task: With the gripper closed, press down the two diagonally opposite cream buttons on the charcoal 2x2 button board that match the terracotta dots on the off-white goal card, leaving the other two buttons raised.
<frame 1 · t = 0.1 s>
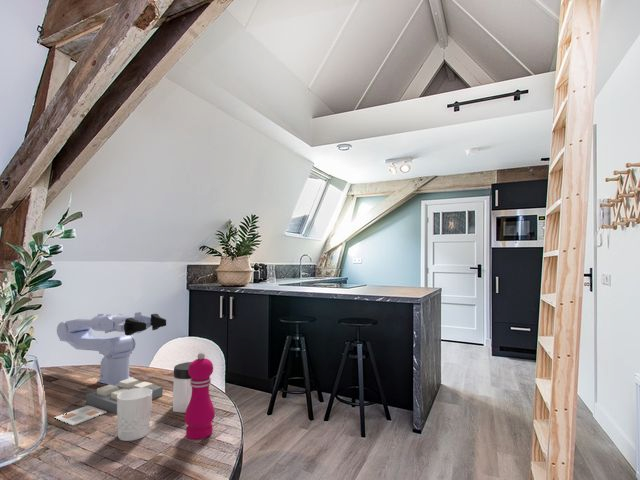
hand: (155, 324, 119), 22 cm above the table, tool horizontal, fingers open, 7 cm apart
button board: (125, 399, 111), on the table
button c: (121, 394, 106), point 3 cm above the table, slide at 0.0 cm
button a: (107, 390, 110), point 3 cm above the table, slide at 0.0 cm
white cup: (133, 435, 89), on the table
button d: (143, 387, 113), point 3 cm above the table, slide at 0.0 cm
goal card: (80, 415, 99), on the table
jar: (187, 407, 106), on the table
button b: (128, 383, 116), point 3 cm above the table, slide at 0.0 cm
pepper mill: (199, 434, 90), on the table
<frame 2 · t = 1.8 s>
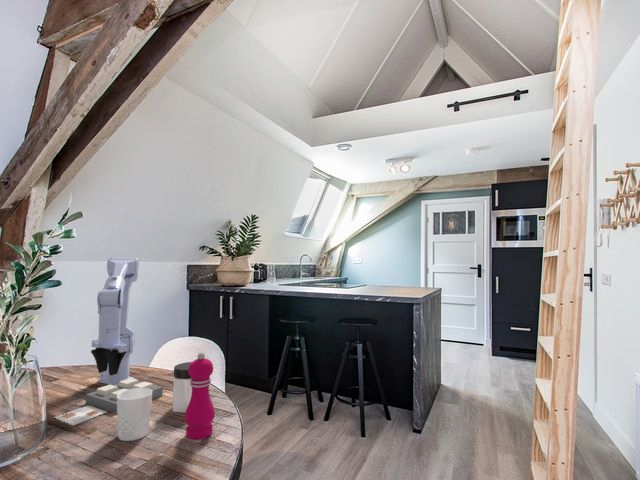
hand: (108, 373, 110), 8 cm above the table, tool pointing down, fingers open, 5 cm apart
nothing on the table moved.
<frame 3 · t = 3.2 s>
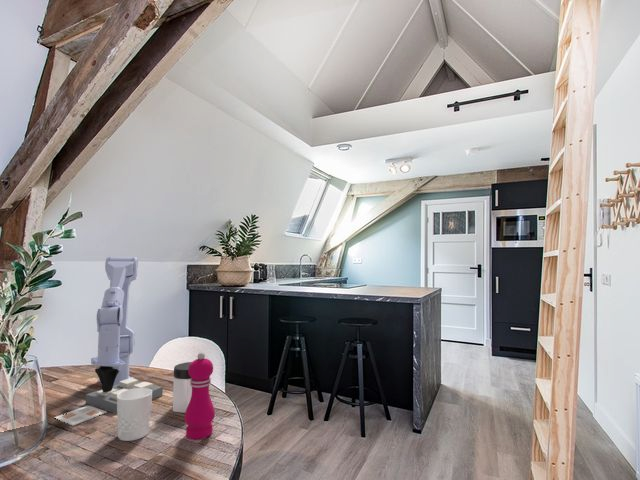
hand: (107, 391, 110), 3 cm above the table, tool pointing down, fingers closed, pressing on button a
button a: (107, 393, 110), point 2 cm above the table, slide at 0.9 cm, touching gripper
everything else where it was.
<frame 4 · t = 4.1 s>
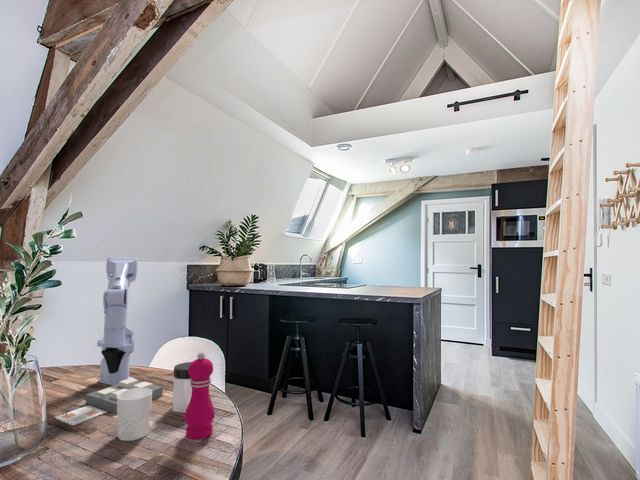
hand: (113, 372, 110), 8 cm above the table, tool pointing down, fingers closed
button a: (107, 393, 110), point 2 cm above the table, slide at 0.9 cm
everything else where it was.
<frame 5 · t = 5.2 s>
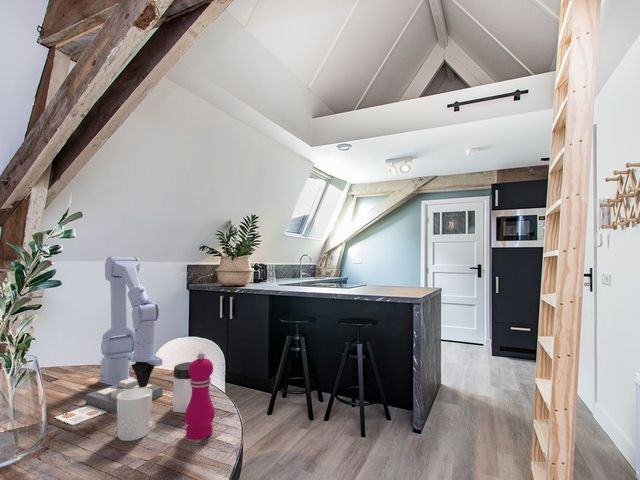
hand: (143, 386, 113), 3 cm above the table, tool pointing down, fingers closed, pressing on button d
button d: (143, 388, 113), point 3 cm above the table, slide at 0.5 cm, touching gripper
everything else where it was.
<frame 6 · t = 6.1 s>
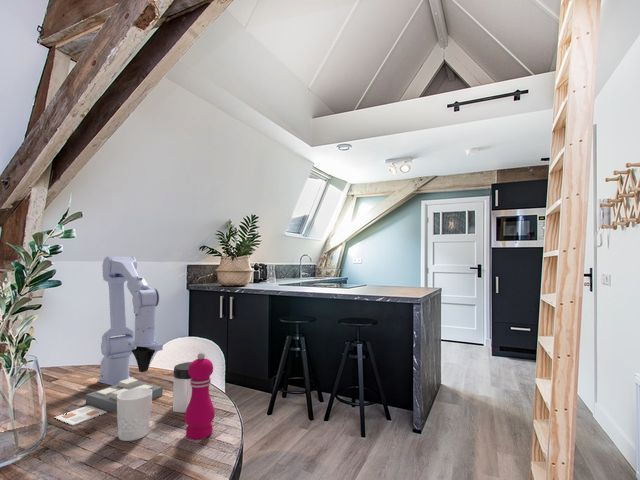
hand: (143, 371, 113), 8 cm above the table, tool pointing down, fingers closed
button d: (142, 390, 113), point 2 cm above the table, slide at 0.9 cm
everything else where it was.
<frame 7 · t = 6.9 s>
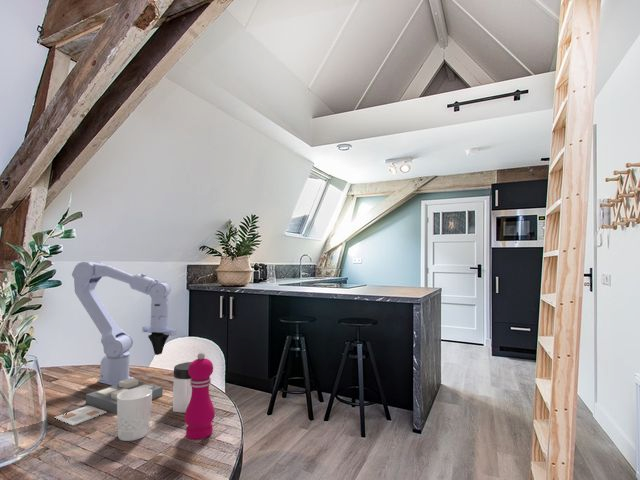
hand: (158, 354, 129), 9 cm above the table, tool pointing down, fingers closed
nothing on the table moved.
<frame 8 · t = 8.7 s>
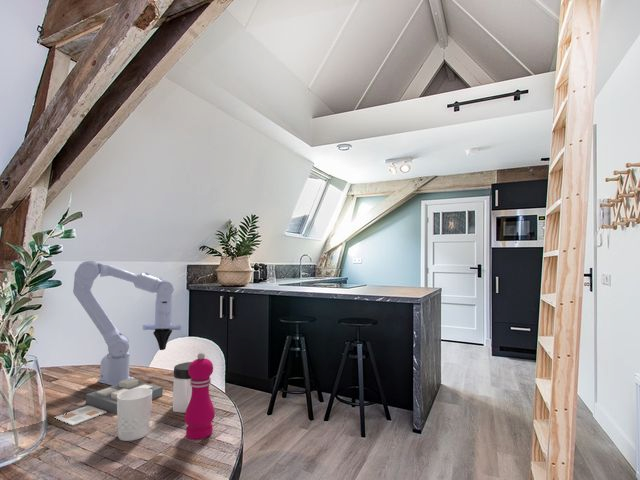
hand: (162, 349, 134), 9 cm above the table, tool pointing down, fingers closed
nothing on the table moved.
at the end: button a slide at 0.9 cm; button d slide at 0.9 cm; button b slide at 0.0 cm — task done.
